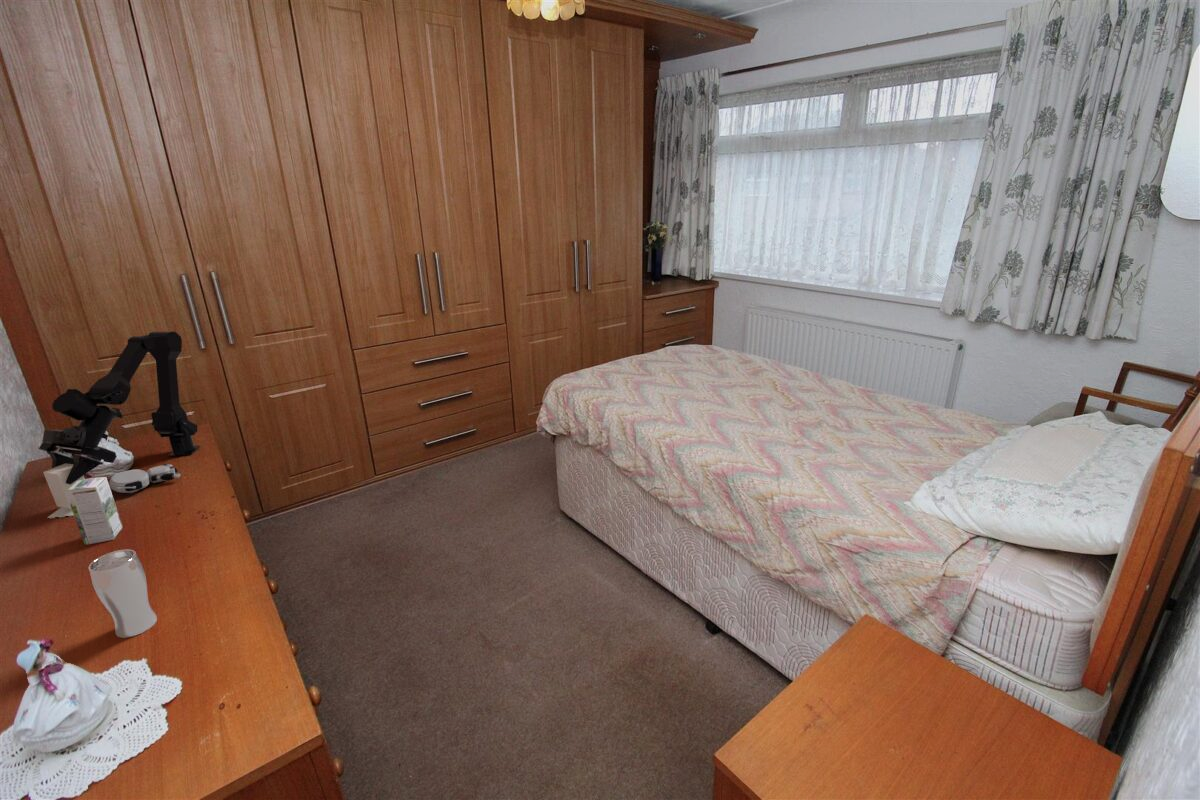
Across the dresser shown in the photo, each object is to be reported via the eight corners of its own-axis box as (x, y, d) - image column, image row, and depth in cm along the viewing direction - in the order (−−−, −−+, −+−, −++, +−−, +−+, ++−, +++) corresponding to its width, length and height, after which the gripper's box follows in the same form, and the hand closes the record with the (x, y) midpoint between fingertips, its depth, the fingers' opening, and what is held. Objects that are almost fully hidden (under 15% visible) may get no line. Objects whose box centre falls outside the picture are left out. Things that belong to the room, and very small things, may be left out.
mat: (69, 502, 145) (69, 501, 145) (104, 499, 147) (103, 498, 146) (47, 518, 138) (47, 517, 137) (84, 514, 139) (83, 513, 139)
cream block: (78, 496, 144) (65, 463, 141) (92, 498, 143) (79, 465, 140) (56, 506, 140) (43, 472, 136) (71, 508, 139) (57, 474, 135)
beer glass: (154, 608, 106) (132, 543, 101) (164, 624, 102) (141, 558, 97) (109, 628, 101) (82, 561, 96) (117, 646, 97) (90, 577, 92)
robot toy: (173, 472, 164) (108, 487, 153) (170, 458, 163) (105, 472, 152) (184, 485, 156) (116, 501, 145) (181, 470, 155) (112, 486, 144)
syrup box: (94, 533, 131) (74, 480, 126) (124, 527, 134) (106, 475, 129) (84, 545, 126) (63, 491, 122) (115, 539, 129) (96, 486, 124)
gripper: (34, 412, 139) (-3, 469, 133) (88, 417, 135) (53, 477, 129) (78, 428, 149) (46, 482, 143) (130, 434, 145) (99, 490, 139)
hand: (60, 482), depth 138 cm, fingers closed on cream block, 5 cm apart
